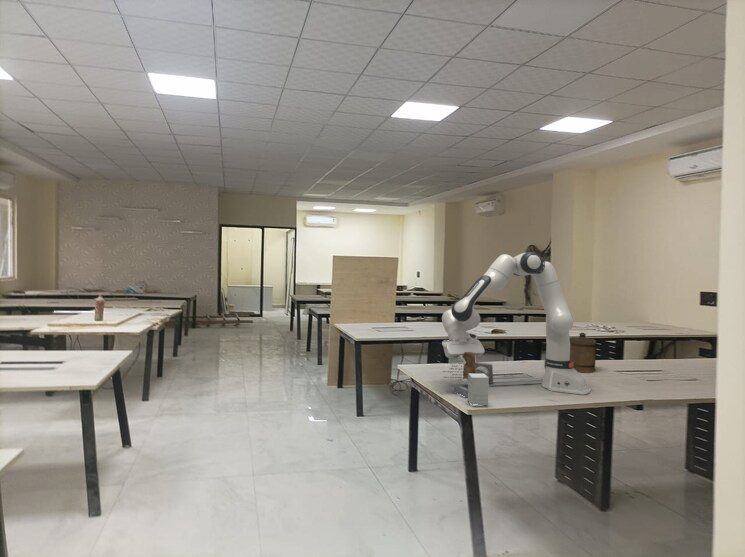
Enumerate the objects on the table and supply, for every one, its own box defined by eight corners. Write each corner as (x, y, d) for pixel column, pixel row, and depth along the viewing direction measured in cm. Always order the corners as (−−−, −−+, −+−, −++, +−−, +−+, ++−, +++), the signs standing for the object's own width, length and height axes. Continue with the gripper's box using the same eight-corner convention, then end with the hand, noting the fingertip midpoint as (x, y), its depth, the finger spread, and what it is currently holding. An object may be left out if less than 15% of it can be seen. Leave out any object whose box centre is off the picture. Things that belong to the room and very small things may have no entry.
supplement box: (483, 401, 211) (484, 373, 211) (488, 406, 204) (489, 377, 203) (467, 401, 211) (467, 372, 210) (471, 406, 203) (472, 377, 203)
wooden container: (598, 370, 280) (600, 333, 279) (589, 374, 269) (591, 335, 268) (572, 366, 290) (574, 330, 289) (563, 369, 279) (564, 332, 279)
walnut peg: (469, 377, 224) (470, 351, 224) (474, 378, 221) (475, 353, 221) (463, 377, 223) (464, 352, 222) (467, 379, 220) (468, 353, 219)
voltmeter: (490, 380, 250) (491, 361, 250) (496, 386, 239) (497, 366, 238) (440, 379, 250) (440, 360, 250) (443, 384, 239) (443, 365, 238)
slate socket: (471, 390, 229) (471, 383, 229) (484, 396, 220) (484, 388, 219) (453, 392, 225) (454, 384, 225) (465, 398, 216) (466, 390, 215)
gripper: (443, 336, 224) (453, 361, 215) (479, 334, 232) (491, 359, 223) (438, 344, 228) (448, 369, 219) (473, 342, 236) (485, 366, 227)
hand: (470, 364), depth 221 cm, fingers closed on walnut peg, 4 cm apart
